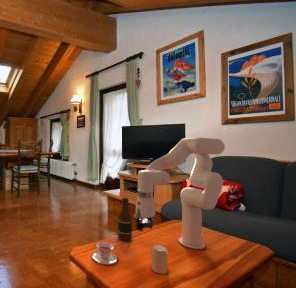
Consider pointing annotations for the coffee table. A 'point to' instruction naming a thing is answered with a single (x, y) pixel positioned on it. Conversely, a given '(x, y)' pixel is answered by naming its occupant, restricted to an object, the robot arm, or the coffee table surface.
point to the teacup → (104, 253)
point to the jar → (159, 259)
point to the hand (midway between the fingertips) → (144, 228)
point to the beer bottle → (125, 222)
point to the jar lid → (147, 223)
